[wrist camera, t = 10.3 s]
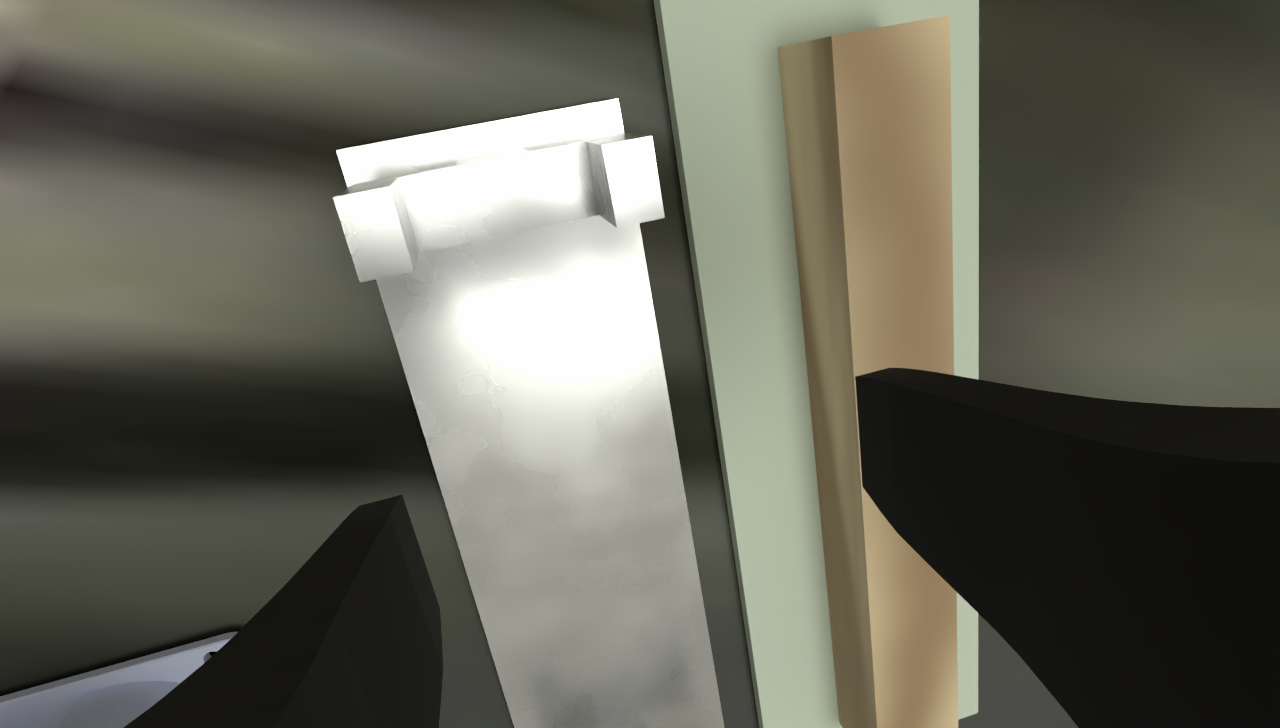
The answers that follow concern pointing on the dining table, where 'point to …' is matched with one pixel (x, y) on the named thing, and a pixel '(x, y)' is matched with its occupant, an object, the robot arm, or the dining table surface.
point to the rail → (874, 337)
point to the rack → (545, 403)
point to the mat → (788, 311)
